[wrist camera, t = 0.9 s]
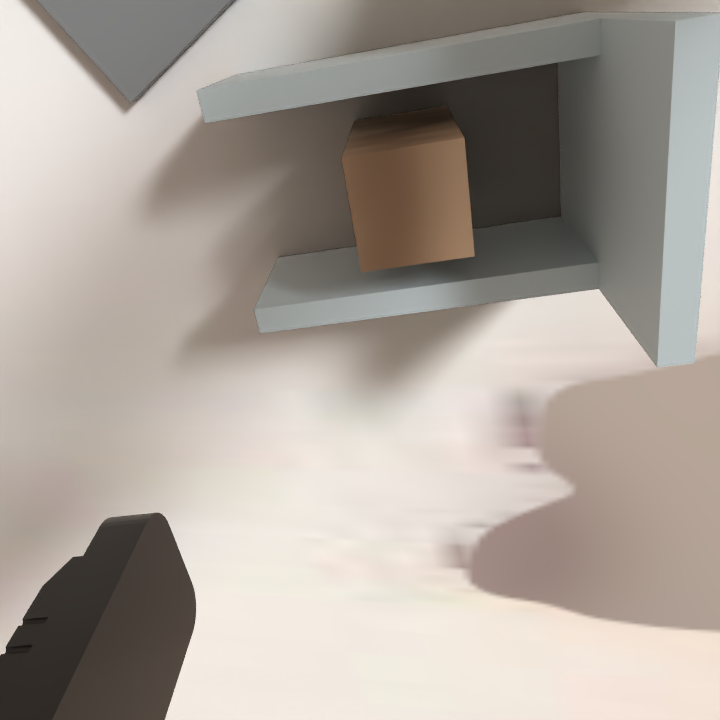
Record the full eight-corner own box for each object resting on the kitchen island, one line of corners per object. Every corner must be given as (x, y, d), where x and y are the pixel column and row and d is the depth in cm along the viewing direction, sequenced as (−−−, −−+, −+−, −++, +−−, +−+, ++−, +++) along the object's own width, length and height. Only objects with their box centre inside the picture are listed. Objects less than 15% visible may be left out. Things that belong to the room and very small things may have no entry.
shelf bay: (584, 11, 29) (724, 12, 17) (584, 235, 34) (694, 363, 22) (235, 74, 31) (131, 116, 19) (282, 277, 36) (225, 418, 23)
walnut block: (446, 105, 31) (464, 137, 23) (455, 197, 33) (474, 256, 25) (354, 120, 32) (341, 157, 24) (368, 211, 34) (361, 272, 26)
